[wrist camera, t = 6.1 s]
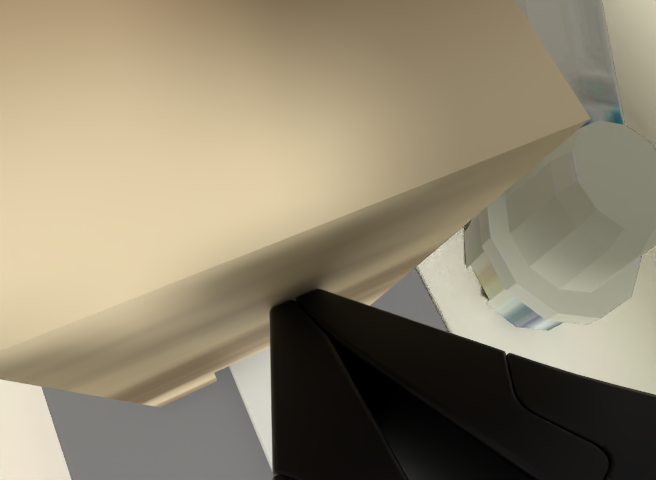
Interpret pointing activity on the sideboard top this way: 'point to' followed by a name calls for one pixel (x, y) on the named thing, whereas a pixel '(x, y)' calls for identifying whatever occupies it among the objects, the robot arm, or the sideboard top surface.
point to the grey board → (195, 418)
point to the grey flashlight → (571, 194)
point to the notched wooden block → (241, 168)
